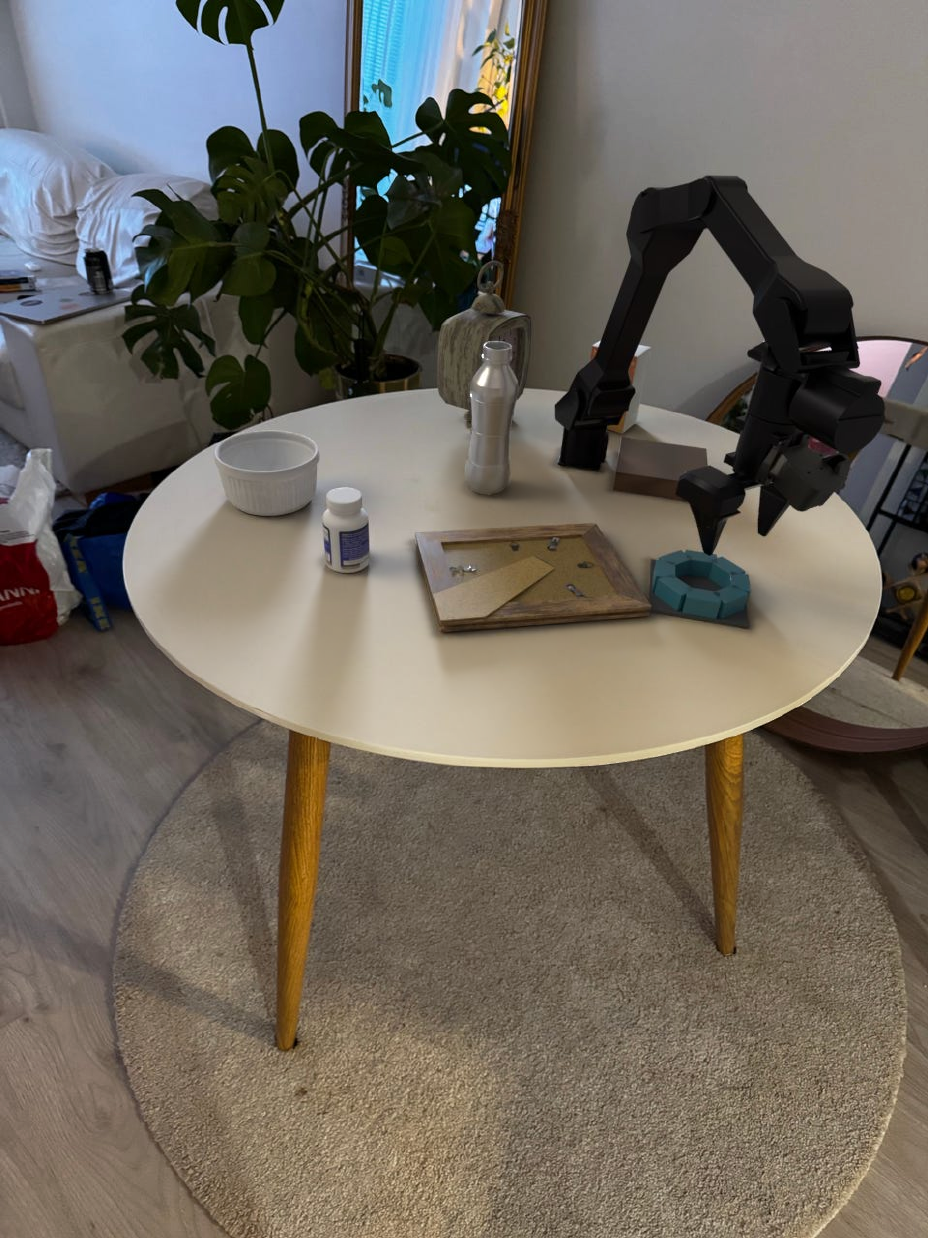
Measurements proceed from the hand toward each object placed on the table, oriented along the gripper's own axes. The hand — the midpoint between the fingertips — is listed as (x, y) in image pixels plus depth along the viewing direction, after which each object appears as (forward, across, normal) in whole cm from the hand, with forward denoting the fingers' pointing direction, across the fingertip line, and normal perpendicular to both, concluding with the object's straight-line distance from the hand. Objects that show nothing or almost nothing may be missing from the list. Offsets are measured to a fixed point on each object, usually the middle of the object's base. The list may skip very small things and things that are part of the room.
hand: (735, 544), depth 87 cm
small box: (+6, +20, +45) cm, 50 cm away
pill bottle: (+6, -38, +25) cm, 45 cm away
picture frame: (+6, -20, +12) cm, 25 cm away
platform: (+6, +14, +25) cm, 29 cm away
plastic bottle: (+6, -12, +33) cm, 36 cm away
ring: (+5, -4, 0) cm, 7 cm away
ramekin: (+6, -40, +44) cm, 59 cm away
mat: (+6, -4, 0) cm, 7 cm away
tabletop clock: (+6, 0, +54) cm, 54 cm away
